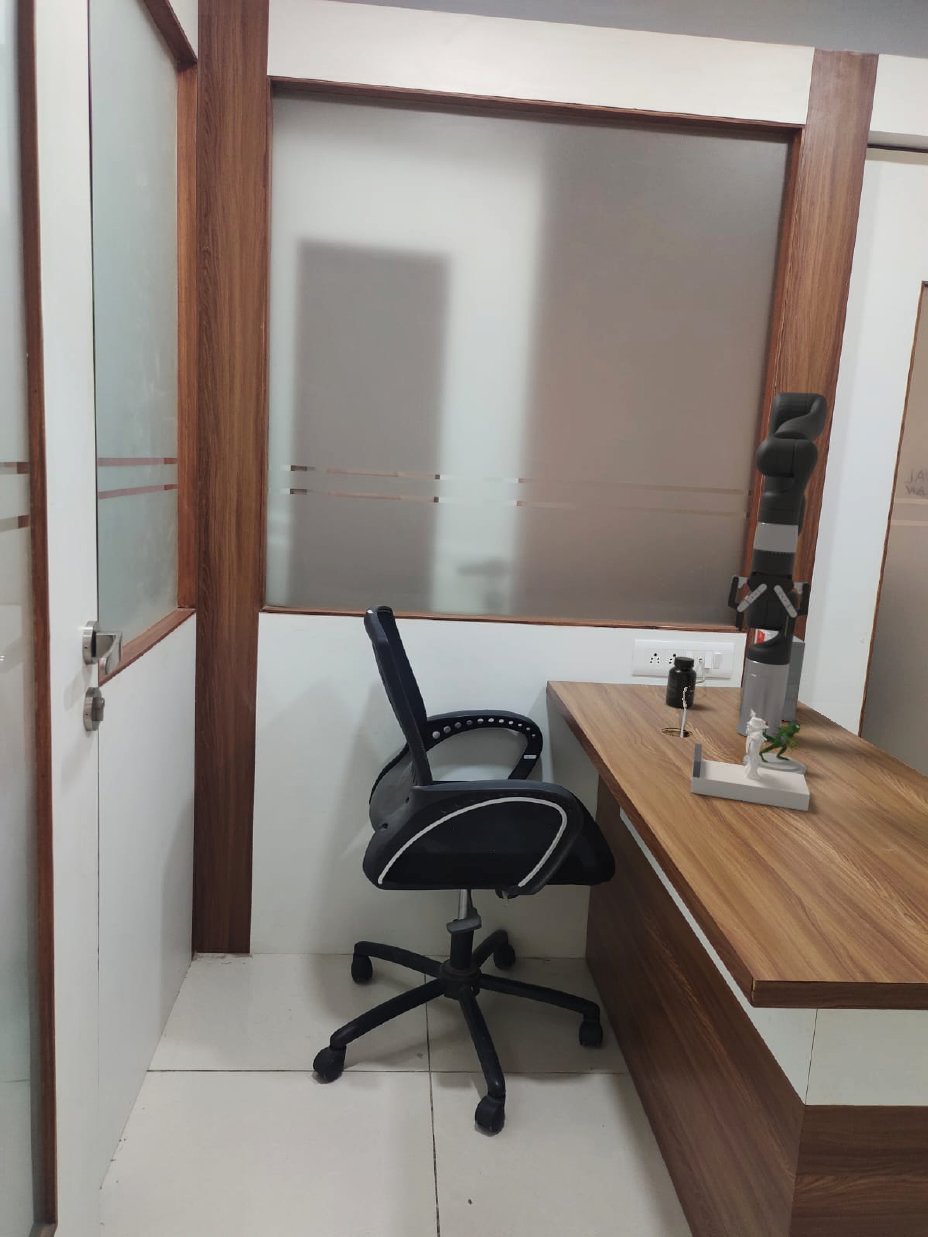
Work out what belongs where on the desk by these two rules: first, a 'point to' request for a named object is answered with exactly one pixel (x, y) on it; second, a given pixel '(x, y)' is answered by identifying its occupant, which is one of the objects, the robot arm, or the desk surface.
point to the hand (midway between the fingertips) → (763, 633)
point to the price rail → (697, 760)
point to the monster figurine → (778, 760)
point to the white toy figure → (754, 745)
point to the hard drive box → (793, 671)
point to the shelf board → (751, 785)
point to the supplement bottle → (681, 682)
